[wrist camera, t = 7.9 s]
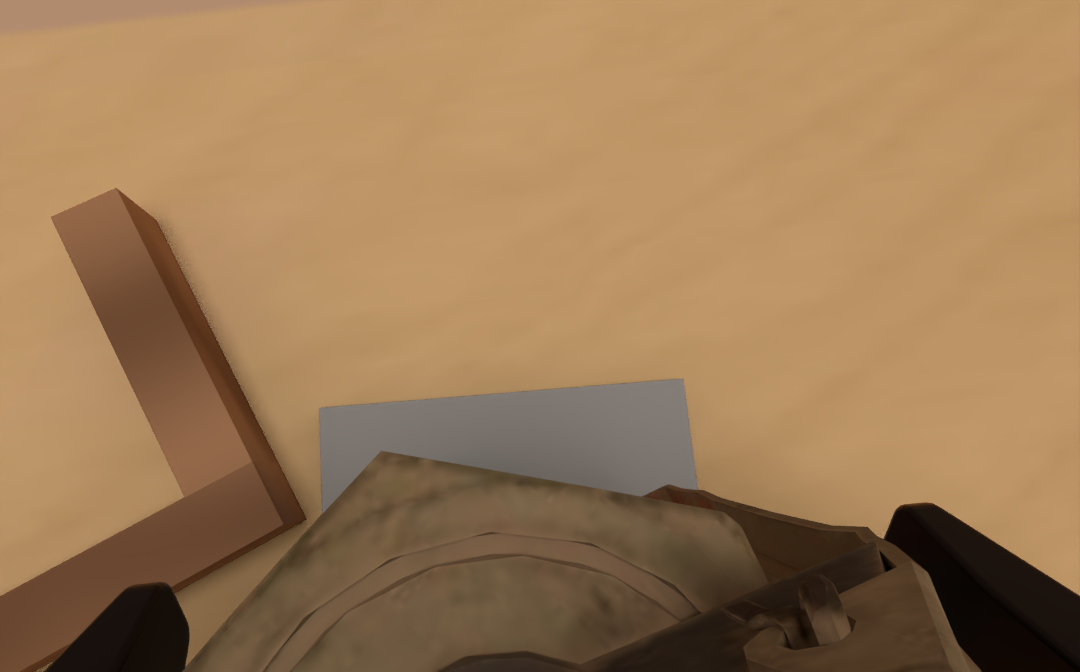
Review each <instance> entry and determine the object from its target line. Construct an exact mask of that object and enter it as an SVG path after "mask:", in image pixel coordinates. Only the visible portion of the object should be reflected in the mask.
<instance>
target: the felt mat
mask: <svg viewBox="0 0 1080 672" xmlns="http://www.w3.org/2000/svg"><path fill="white" fill-rule="evenodd" d="M319 421H320V454H321V488H322V514H323V513H324V512H325V511H326V510H327V509H328V507H329V506H330V505H331V504H332V503H333V502H334V501H335V500H336V499H337V498H338V497H339V496H340V495H341V493H342V492H343V491H344V490H345V489H346V488H347V487H348V486H349V485H350V484H351V483H352V482H353V481H354V479H355V478H356V477H357V476H358V475H359V474H360V473H361V472H362V471H363V470H364V469H365V468H366V467H367V465H368V464H369V463H370V462H371V461H372V460H373V459H374V458H375V457H376V456H377V455H378V454H379V453H380V451H386V452H392V453H397V454H403V455H409V456H415V457H420V458H426V459H432V460H438V461H443V462H449V463H455V464H461V465H466V466H472V467H478V468H484V469H489V470H495V471H501V472H506V473H512V474H518V475H524V476H529V477H535V478H541V479H546V480H552V481H558V482H564V483H569V484H575V485H581V486H586V487H592V488H598V489H603V490H609V491H614V492H619V493H625V494H630V495H635V496H641V497H642V496H644V495H646V494H648V493H650V492H652V491H654V490H656V489H658V488H660V487H663V486H665V485H668V484H670V485H673V486H676V487H680V488H684V489H694V490H698V486H697V479H696V471H695V464H694V456H693V448H692V441H691V433H690V426H689V418H688V411H687V403H686V395H685V388H684V380H683V379H673V380H660V381H648V382H636V383H623V384H611V385H598V386H586V387H574V388H561V389H549V390H536V391H524V392H511V393H499V394H487V395H474V396H462V397H449V398H437V399H425V400H412V401H400V402H387V403H375V404H363V405H350V406H338V407H325V408H319Z"/></svg>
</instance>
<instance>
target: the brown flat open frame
mask: <svg viewBox="0 0 1080 672" xmlns="http://www.w3.org/2000/svg"><path fill="white" fill-rule="evenodd" d="M51 219H52V221H53V223H54V225H55V227H56V229H57V232H58V234H59V236H60V238H61V240H62V242H63V244H64V246H65V248H66V250H67V252H68V254H69V257H70V259H71V261H72V263H73V265H74V267H75V269H76V271H77V273H78V275H79V277H80V280H81V282H82V284H83V286H84V288H85V290H86V292H87V294H88V296H89V298H90V300H91V303H92V305H93V307H94V309H95V311H96V313H97V315H98V317H99V319H100V321H101V323H102V325H103V328H104V330H105V332H106V334H107V336H108V338H109V340H110V342H111V344H112V346H113V348H114V351H115V353H116V355H117V357H118V359H119V361H120V363H121V365H122V367H123V369H124V371H125V373H126V376H127V378H128V380H129V382H130V384H131V386H132V388H133V390H134V392H135V394H136V396H137V399H138V401H139V403H140V405H141V407H142V409H143V411H144V413H145V415H146V417H147V419H148V422H149V424H150V426H151V428H152V430H153V432H154V434H155V436H156V438H157V440H158V442H159V444H160V447H161V449H162V451H163V453H164V455H165V457H166V459H167V461H168V463H169V465H170V467H171V470H172V472H173V474H174V476H175V478H176V480H177V482H178V484H179V486H180V488H181V490H182V492H183V495H184V497H185V498H183V499H181V500H179V501H177V502H175V503H174V504H172V505H170V506H168V507H166V508H164V509H162V510H160V511H159V512H157V513H155V514H153V515H151V516H149V517H147V518H146V519H144V520H142V521H140V522H138V523H136V524H134V525H132V526H131V527H129V528H127V529H125V530H123V531H121V532H119V533H118V534H116V535H114V536H112V537H110V538H108V539H106V540H104V541H103V542H101V543H99V544H97V545H95V546H93V547H91V548H90V549H88V550H86V551H84V552H82V553H80V554H78V555H76V556H75V557H73V558H71V559H69V560H67V561H65V562H63V563H62V564H60V565H58V566H56V567H54V568H52V569H50V570H48V571H47V572H45V573H43V574H41V575H39V576H37V577H35V578H34V579H32V580H30V581H28V582H26V583H24V584H22V585H20V586H19V587H17V588H15V589H13V590H11V591H9V592H7V593H6V594H4V595H2V596H0V672H34V671H36V670H38V669H39V668H41V667H43V666H45V665H47V664H48V663H50V662H52V661H54V660H55V659H56V658H57V657H58V656H59V655H60V654H61V653H62V652H63V651H64V650H65V649H66V648H67V647H68V646H69V645H70V644H71V643H72V642H73V641H74V640H75V639H76V638H77V637H78V636H79V635H80V634H81V633H82V632H83V631H84V630H85V629H86V628H87V627H88V626H89V625H90V623H91V622H92V621H93V620H94V619H95V618H96V617H97V616H98V615H99V614H100V613H101V612H102V611H103V610H104V609H105V608H106V607H107V606H108V605H109V604H110V603H111V602H112V601H113V600H114V599H115V598H116V597H117V596H118V595H119V594H120V593H121V592H122V591H123V590H124V589H126V588H127V587H129V586H131V585H135V584H143V583H152V582H165V583H167V584H169V585H170V586H171V588H172V590H173V592H174V593H175V592H177V591H179V590H181V589H183V588H184V587H186V586H188V585H190V584H191V583H193V582H195V581H197V580H199V579H200V578H202V577H204V576H206V575H208V574H209V573H211V572H213V571H215V570H217V569H218V568H220V567H222V566H224V565H225V564H227V563H229V562H231V561H233V560H234V559H236V558H238V557H240V556H242V555H243V554H245V553H247V552H249V551H250V550H252V549H254V548H256V547H258V546H259V545H261V544H263V543H265V542H267V541H268V540H270V539H272V538H274V537H276V536H277V535H279V534H281V533H283V532H284V531H286V530H288V529H290V528H292V527H293V526H295V525H297V524H299V523H301V522H302V521H304V520H306V517H305V515H304V513H303V511H302V509H301V507H300V505H299V503H298V501H297V500H296V498H295V496H294V494H293V492H292V490H291V488H290V486H289V484H288V482H287V480H286V478H285V476H284V474H283V472H282V470H281V468H280V466H279V464H278V462H277V460H276V458H275V456H274V454H273V452H272V450H271V448H270V446H269V444H268V442H267V440H266V438H265V436H264V434H263V432H262V430H261V428H260V426H259V424H258V422H257V420H256V418H255V416H254V414H253V412H252V410H251V408H250V406H249V404H248V402H247V400H246V398H245V396H244V394H243V392H242V390H241V388H240V386H239V384H238V382H237V380H236V378H235V376H234V374H233V372H232V370H231V368H230V366H229V364H228V362H227V360H226V358H225V356H224V354H223V352H222V350H221V348H220V346H219V344H218V342H217V340H216V338H215V336H214V334H213V332H212V330H211V328H210V326H209V324H208V322H207V320H206V318H205V316H204V315H203V313H202V311H201V309H200V307H199V305H198V303H197V301H196V299H195V297H194V295H193V293H192V291H191V289H190V287H189V285H188V283H187V281H186V279H185V277H184V275H183V273H182V271H181V269H180V267H179V265H178V263H177V261H176V259H175V257H174V255H173V253H172V251H171V249H170V247H169V245H168V243H167V241H166V239H165V237H164V235H163V233H162V231H161V229H160V227H159V225H158V223H157V221H156V220H155V219H154V218H153V217H152V216H150V215H149V214H148V213H147V212H145V211H144V210H143V209H142V208H140V207H139V206H138V205H137V204H135V203H134V202H133V201H132V200H130V199H129V198H128V197H127V196H126V195H124V194H123V193H122V192H121V191H119V190H118V189H117V188H115V189H113V190H110V191H108V192H106V193H104V194H101V195H99V196H97V197H95V198H93V199H90V200H88V201H86V202H84V203H81V204H79V205H77V206H75V207H72V208H70V209H68V210H66V211H63V212H61V213H59V214H57V215H55V216H52V217H51Z"/></svg>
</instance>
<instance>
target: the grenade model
mask: <svg viewBox="0 0 1080 672" xmlns="http://www.w3.org/2000/svg"><path fill="white" fill-rule="evenodd" d="M182 672H982V671H981V670H980V669H979V667H978V666H977V665H976V664H975V663H974V662H973V661H972V660H971V658H970V657H969V656H968V655H967V654H966V653H965V652H964V650H963V649H962V648H961V647H960V646H959V645H958V643H957V641H956V639H955V636H954V634H953V632H952V629H951V627H950V624H949V622H948V620H947V617H946V615H945V612H944V610H943V607H942V605H941V603H940V600H939V598H938V595H937V593H936V591H935V588H934V586H933V583H932V581H931V578H930V576H929V574H928V572H927V571H926V570H924V569H923V568H922V567H921V566H920V565H919V564H917V563H916V562H915V561H914V560H912V559H911V558H910V557H909V556H908V555H906V554H905V553H904V552H903V551H902V550H900V549H899V548H898V547H897V546H895V545H894V544H892V543H890V542H888V541H886V540H884V539H882V538H880V537H878V536H876V535H875V534H874V533H873V532H872V531H871V530H870V529H869V528H868V527H854V526H831V525H827V524H822V523H818V522H813V521H809V520H805V519H800V518H796V517H791V516H787V515H783V514H778V513H774V512H770V511H767V510H763V509H759V508H756V507H752V506H748V505H745V504H741V503H737V502H734V501H730V500H726V499H723V498H720V497H718V496H716V495H713V494H711V493H709V492H706V491H704V490H694V489H684V488H680V487H676V486H673V485H670V484H668V485H665V486H663V487H660V488H658V489H656V490H654V491H652V492H650V493H648V494H646V495H644V496H642V497H641V496H635V495H630V494H625V493H619V492H614V491H609V490H603V489H598V488H592V487H586V486H581V485H575V484H569V483H564V482H558V481H552V480H546V479H541V478H535V477H529V476H524V475H518V474H512V473H506V472H501V471H495V470H489V469H484V468H478V467H472V466H466V465H461V464H455V463H449V462H443V461H438V460H432V459H426V458H420V457H415V456H409V455H403V454H397V453H392V452H386V451H380V453H379V454H378V455H377V456H376V457H375V458H374V459H373V460H372V461H371V462H370V463H369V464H368V465H367V467H366V468H365V469H364V470H363V471H362V472H361V473H360V474H359V475H358V476H357V477H356V478H355V479H354V481H353V482H352V483H351V484H350V485H349V486H348V487H347V488H346V489H345V490H344V491H343V492H342V493H341V495H340V496H339V497H338V498H337V499H336V500H335V501H334V502H333V503H332V504H331V505H330V506H329V507H328V509H327V510H326V511H325V512H324V513H323V514H322V515H321V516H320V517H319V518H318V519H317V520H316V521H315V523H314V524H313V525H312V526H311V527H310V528H309V529H308V530H307V531H306V532H305V533H304V534H303V535H302V537H301V538H300V539H299V540H298V541H297V542H296V543H295V544H294V545H293V547H292V548H291V549H290V550H289V551H288V552H287V553H286V554H285V556H284V557H283V558H282V559H281V560H280V561H279V562H278V563H277V564H276V566H275V567H274V568H273V569H272V570H271V571H270V572H269V573H268V575H267V576H266V577H265V578H264V579H263V580H262V581H261V582H260V583H259V585H258V586H257V587H256V588H255V589H254V590H253V591H252V592H251V594H250V595H249V596H248V597H247V598H246V599H245V600H244V601H243V602H242V604H241V605H240V606H239V607H238V608H237V609H236V610H235V611H234V613H233V614H232V615H231V616H230V617H229V618H228V619H227V621H226V622H225V623H224V624H223V625H222V626H221V628H220V629H219V630H218V631H217V632H216V633H215V634H214V636H213V637H212V638H211V639H210V640H209V641H208V642H207V644H206V645H205V646H204V647H203V648H202V649H201V650H200V652H199V653H198V654H197V655H196V656H195V657H194V658H193V660H192V661H191V662H190V663H189V664H188V665H187V666H186V668H185V669H184V670H183V671H182Z"/></svg>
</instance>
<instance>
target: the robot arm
mask: <svg viewBox="0 0 1080 672" xmlns="http://www.w3.org/2000/svg"><path fill="white" fill-rule="evenodd" d="M884 540H886V541H888V542H890V543H892V544H894V545H895V546H897V547H898V548H899V549H900V550H902V551H903V552H904V553H905V554H906V555H908V556H909V557H910V558H911V559H912V560H914V561H915V562H916V563H917V564H919V565H920V566H921V567H922V568H923V569H924V570H926V571H927V572H928V574H929V576H930V578H931V581H932V583H933V586H934V588H935V591H936V593H937V595H938V598H939V600H940V603H941V605H942V607H943V610H944V612H945V615H946V617H947V620H948V622H949V624H950V627H951V629H952V632H953V634H954V636H955V639H956V641H957V643H958V645H959V646H960V647H961V648H962V649H963V650H964V652H965V653H966V654H967V655H968V656H969V657H970V658H971V660H972V661H973V662H974V663H975V664H976V665H977V666H978V667H979V669H980V670H981V671H982V672H1080V596H1079V595H1078V594H1076V593H1074V592H1073V591H1071V590H1070V589H1068V588H1067V587H1065V586H1063V585H1062V584H1060V583H1059V582H1057V581H1055V580H1054V579H1052V578H1051V577H1049V576H1048V575H1046V574H1044V573H1043V572H1041V571H1040V570H1038V569H1037V568H1035V567H1033V566H1032V565H1030V564H1029V563H1027V562H1026V561H1024V560H1022V559H1021V558H1019V557H1018V556H1016V555H1014V554H1013V553H1011V552H1010V551H1008V550H1007V549H1005V548H1003V547H1002V546H1000V545H999V544H997V543H996V542H994V541H992V540H991V539H989V538H988V537H986V536H985V535H983V534H981V533H980V532H978V531H977V530H975V529H974V528H972V527H970V526H969V525H967V524H966V523H964V522H962V521H961V520H959V519H958V518H956V517H955V516H953V515H951V514H950V513H948V512H947V511H945V510H944V509H942V508H940V507H939V506H937V505H935V504H932V503H915V504H905V505H901V506H899V507H898V508H897V509H896V510H895V512H894V514H893V517H892V519H891V522H890V524H889V527H888V530H887V532H886V535H885V537H884ZM188 647H189V626H188V622H187V620H186V618H185V615H184V613H183V611H182V609H181V607H180V605H179V603H178V600H177V598H176V596H175V594H174V592H173V590H172V588H171V586H170V585H169V584H167V583H165V582H152V583H143V584H135V585H131V586H129V587H127V588H126V589H124V590H123V591H122V592H121V593H120V594H119V595H118V596H117V597H116V598H115V599H114V600H113V601H112V602H111V603H110V604H109V605H108V606H107V607H106V608H105V609H104V610H103V611H102V612H101V613H100V614H99V615H98V616H97V617H96V618H95V619H94V620H93V621H92V622H91V623H90V625H89V626H88V627H87V628H86V629H85V630H84V631H83V632H82V633H81V634H80V635H79V636H78V637H77V638H76V639H75V640H74V641H73V642H72V643H71V644H70V645H69V646H68V647H67V648H66V649H65V650H64V651H63V652H62V653H61V654H60V655H59V656H58V657H57V658H56V659H55V661H54V662H53V663H52V664H51V665H50V666H49V667H48V668H47V669H46V670H45V671H44V672H182V671H183V670H184V669H185V664H186V658H187V652H188Z"/></svg>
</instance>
